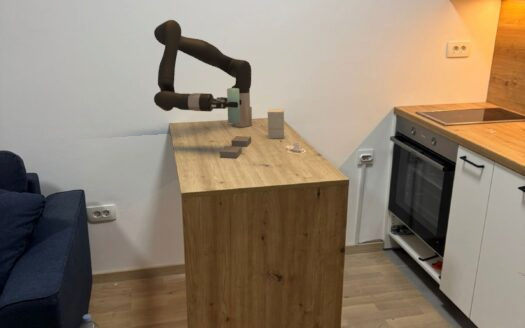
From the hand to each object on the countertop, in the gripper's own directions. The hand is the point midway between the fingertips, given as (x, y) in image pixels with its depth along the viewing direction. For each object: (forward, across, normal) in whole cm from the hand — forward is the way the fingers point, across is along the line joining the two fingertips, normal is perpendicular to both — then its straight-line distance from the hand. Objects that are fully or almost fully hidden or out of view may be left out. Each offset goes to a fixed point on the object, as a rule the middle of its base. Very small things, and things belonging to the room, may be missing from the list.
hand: (239, 103), depth 201 cm
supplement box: (+11, +24, +20) cm, 33 cm away
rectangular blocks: (-2, 0, +20) cm, 20 cm away
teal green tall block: (-3, 0, +8) cm, 8 cm away
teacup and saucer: (+24, +5, +20) cm, 32 cm away
